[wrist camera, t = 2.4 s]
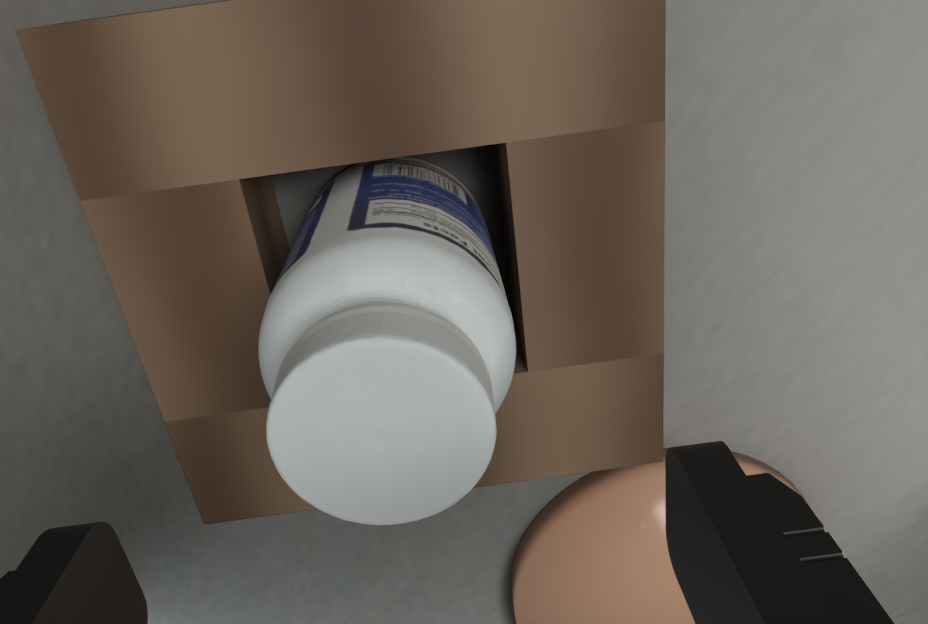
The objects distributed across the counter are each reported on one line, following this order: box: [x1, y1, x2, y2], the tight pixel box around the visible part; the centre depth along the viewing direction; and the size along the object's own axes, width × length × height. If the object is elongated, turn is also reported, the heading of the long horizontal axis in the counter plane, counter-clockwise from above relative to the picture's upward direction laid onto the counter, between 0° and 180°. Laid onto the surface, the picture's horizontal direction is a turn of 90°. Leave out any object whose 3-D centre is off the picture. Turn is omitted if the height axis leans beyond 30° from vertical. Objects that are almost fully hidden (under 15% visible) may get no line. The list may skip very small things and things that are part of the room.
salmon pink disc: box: [511, 449, 826, 624], centre depth 27 cm, size 12×12×1 cm
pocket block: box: [15, 0, 665, 524], centre depth 19 cm, size 14×14×3 cm
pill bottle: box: [258, 157, 516, 525], centre depth 16 cm, size 5×5×10 cm
